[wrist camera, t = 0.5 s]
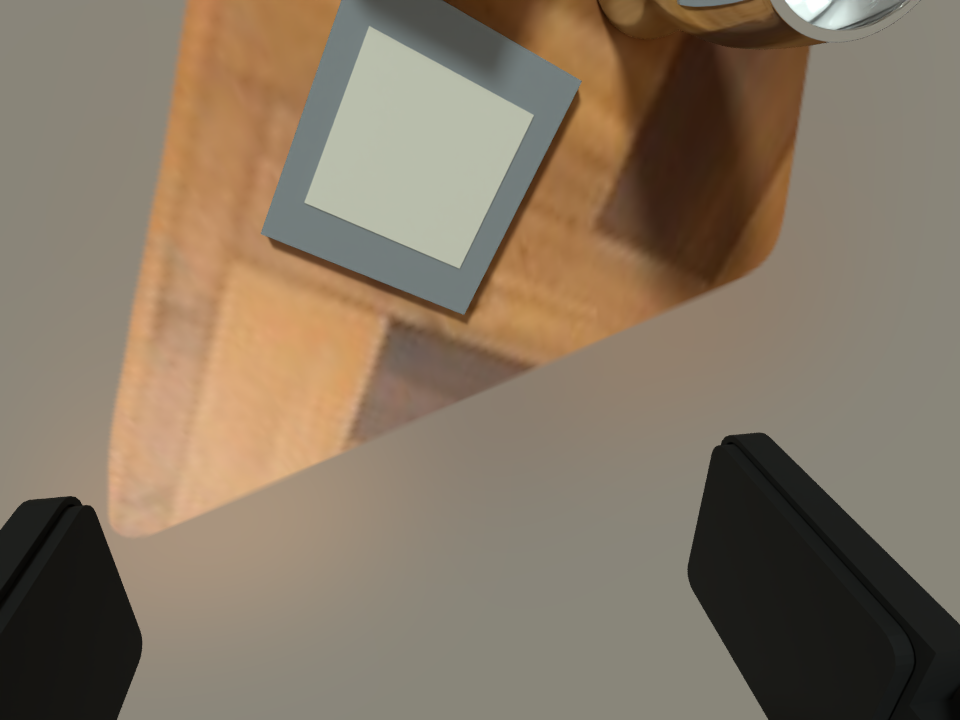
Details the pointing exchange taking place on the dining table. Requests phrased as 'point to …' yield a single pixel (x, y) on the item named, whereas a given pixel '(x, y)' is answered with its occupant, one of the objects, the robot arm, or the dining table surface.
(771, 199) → the dining table surface
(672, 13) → the metal cup
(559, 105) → the board
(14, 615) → the robot arm
